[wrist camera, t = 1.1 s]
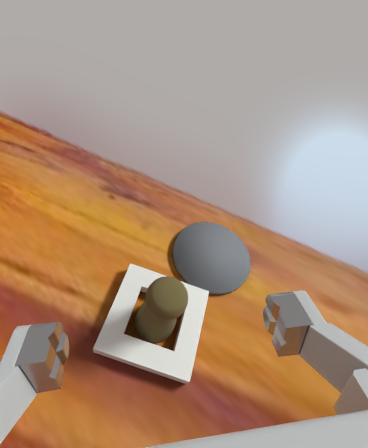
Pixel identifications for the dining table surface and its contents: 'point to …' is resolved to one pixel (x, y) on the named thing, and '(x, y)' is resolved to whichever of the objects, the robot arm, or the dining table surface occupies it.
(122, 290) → the white square frame
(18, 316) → the dining table surface
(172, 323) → the olive pawn
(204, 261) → the charcoal mat
